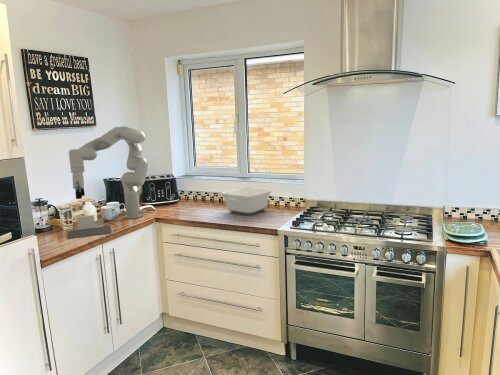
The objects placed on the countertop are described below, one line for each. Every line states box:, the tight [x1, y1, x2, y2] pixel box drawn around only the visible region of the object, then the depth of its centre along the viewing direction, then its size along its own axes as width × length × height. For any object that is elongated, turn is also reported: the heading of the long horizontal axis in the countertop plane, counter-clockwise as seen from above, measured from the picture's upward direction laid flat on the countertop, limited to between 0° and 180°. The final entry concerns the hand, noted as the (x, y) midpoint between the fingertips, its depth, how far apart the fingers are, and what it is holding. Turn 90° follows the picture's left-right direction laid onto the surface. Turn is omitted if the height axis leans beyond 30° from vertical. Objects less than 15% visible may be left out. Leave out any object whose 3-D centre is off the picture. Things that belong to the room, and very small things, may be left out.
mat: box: [66, 225, 112, 240], centre depth 228 cm, size 24×16×1 cm, turn 112°
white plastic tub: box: [221, 186, 272, 216], centre depth 265 cm, size 34×29×15 cm
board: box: [76, 214, 96, 230], centre depth 237 cm, size 10×2×8 cm, turn 112°
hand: (80, 197), depth 230 cm, fingers open, 9 cm apart
